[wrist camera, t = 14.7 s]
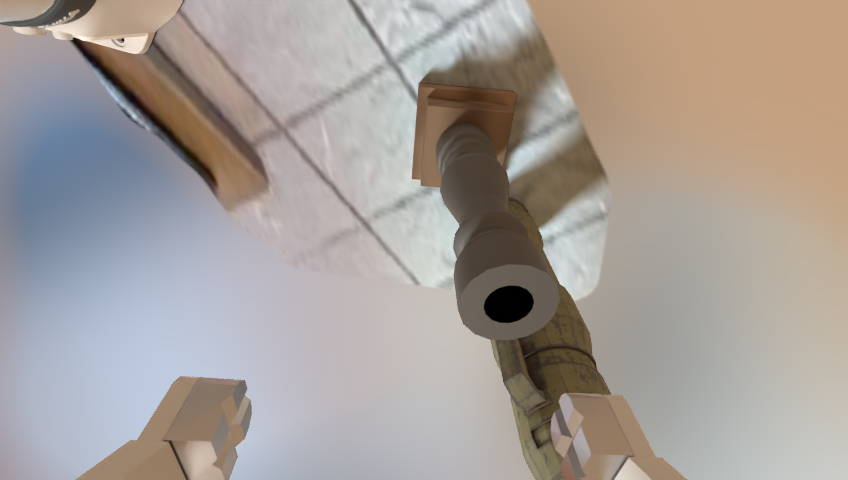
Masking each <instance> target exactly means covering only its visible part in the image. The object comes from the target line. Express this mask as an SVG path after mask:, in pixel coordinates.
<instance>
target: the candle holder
mask: <svg viewBox="0 0 848 480" xmlns="http://www.w3.org/2000/svg"><path fill="white" fill-rule="evenodd" d="M436 161H437V167H438V170H439V173H440V176H441V185H440V192H441V195H442V198H443V201H444V204H445V205H446V207H447V208H448V209H449V211H450V212H451V213H452V215H453V216H454V218H455V219H456V220H457V222H458V223H459V226H460V227H459V228H458V230H457V232H456V233H455V239H454V246H453V248H454V252H455V255H456V257H457V261H456V264H455V270H454V282H455V290H456V297H457V305H458V311H459V313H460V316H461V319H462V321H463V324H464V325H465V326H466V327H468V328H469V329H470V330H471V331H472V332H473V333H475V334H476V335H480V336H482V337H485V338H487V339H490V340H513V339H517V338H522V337H526V336H528V335H530V334H532V333H534V332H536V331H537V330H539V329H541V328H543V327H544V326H545V325H546V324H547V323H548V322H549V321H550V319H551V318H552V317H553V316H554V315H555V313H556V310H557V307H558V304H559V301H560V297H559V292H558V286H557V283H556V281H555V279H554V277H553V275H552V273H551V271H550V269H549V267H548V264H547V262H546V260H545V258H544V256H543V254H542V252H541V251H540V250H539V249H538V247H537V246H536V245H535V244H534V243H533V241H531V240H529V237H528V233H527V229H526V227H525V225H524V224H523V223H522V222H521V221H520V220H519V218H518V217H517V216H515V215H513V214H511V213H509V212H508V194H509V181H508V176H507V172H506V170H505V169H504V167H503V166H502V165H501V164H500V162H499V161H498V160H497V155H496V151H495V147H494V145H493V143H492V141H491V139H490V137H489V135H488V134H487V133H486V132H485V130H484V129H483V128H481V127H479V126H478V125H476V124H474V123H463V122H461V123H458V124H455V125H452V126H450V127H449V128H448V129H447V130H445V131H444V132H443V133H442V134H441V136H440V138H439V140H438V142H437V145H436Z"/></svg>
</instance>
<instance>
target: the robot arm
mask: <svg viewBox="0 0 848 480" xmlns="http://www.w3.org/2000/svg"><path fill="white" fill-rule="evenodd" d="M182 2H183V0H0V24H2V25H8V26H12V28H13V29H14V30H15V31H16V32H18V33H22V34H28V35H45V33H46V29H47V30H50V31H52V32H53V35H54V37H55V38H58V39H63V40H72V39H73V37H75V38H79V39H81V40H83V41H89V42H93V43H96V44H100V45H104V46H107V47H111V48H114V49H118V50H121V51H125V52H129V53H133V54H142V53H145V52H146V51H147V50H148V49H149V47H150V45H151V43H152V40H153V38H154V35H155V32H156V31H157V30H158V29H159V28H160V27H161V26H162V25H163V24H165V23H166V22H167V21H169V20H170V19H171V18H172V17H173V16H174V15H175V14H176V12H177V11H178V9H179V8H180V6H181V4H182ZM121 38H124V42H123V41H122V40H121ZM246 391H247V386H246V382H245V380H234V379H217V378H203V377H181V376H180V377H179V378H178V379H177V380H176V381H175V382H173V384H172V385H171V387H170V389H169V390H168V392H167V393H166V395H165V397H164V398H163V400H162V402H161V403H160V405H159V406H158V408H157V409H156V411H155V412H154V414H153V416H152V417H151V419H150V420H149V422H148V424H147V425H146V427H145V428H144V430H143V432H142V433H141V435H140V436H139V438H138V440H130V441H129V442H127V443H126V444H124V445H123V446H122V447H120V448H119V449H118V450H116V451H115V452H113V453H112V454H111V455H109V456H108V457H107V458H105V459H104V460H102V461H101V462H99V463H98V464H97V465H95V466H94V467H93V468H91V469H90V470H88V471H87V472H86V473H84V474H83V475H82V476H80V477H79V478H77V479H76V480H229V478H230V475H231V473H232V470H233V467H234V465H235V462H236V460H237V457H238V456H237V452H236V449H235V447H236V446H237V445H238V444H239V443H240V442H241V441H242V440H244V439H245V436H246V434H247V431H248V428H249V425H250V420H251V415H252V412H251V411H252V410H251V409H252V408H251V407H252V406H251V402H250V399H248V398H247V397H246V396H245V393H246ZM559 404H560V407H561V408H559V409H558V410H556V411H555V412H554V414H553V416H552V419H551V435H552V441H553V444H554V448H555V450H556V451H557V452H558V453H559V454H560V455H561V456H562V457H563V461H562V463H561V466H560V468H561V471H562V474H563V477H564V480H687V479H686V478H684V477H683V476H682V475H681V474H680V473H679V472H678V471H676V470H675V469H674V468H673V467H672V466H671V465H670V464H668V463H667V462H666V461H665V460H664V459H663V458H657V457H656V456H655V454H654V452H653V450H652V449H651V447H650V445H649V443H648V441H647V439H646V437H645V435H644V433H643V431H642V429H641V427H640V425H639V423H638V422H637V420H636V418H635V416H634V414H633V412H632V410H631V408H630V406H629V404H628V402H627V400H626V399H625V398H624V397H623V396H621V395H601V394H586V393H564V394H563V395H561V397H560V399H559Z"/></svg>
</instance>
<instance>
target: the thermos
mask: <svg viewBox="0 0 848 480" xmlns="http://www.w3.org/2000/svg"><path fill="white" fill-rule="evenodd" d="M508 212H509V213H511V214H513V215H515V216H517V217H518V218H519V220H520V221H521V222H522V223H523V224H524V225H525V227H526V229H527V233H528V237H529V240H531V241H533V243H534V244H535V245H536V246H537V247H538V249H539V250H540V251H541V252H542V254H543V256H544V258H545V260H546V262H547V264H548V267H549V269H550V271H551V273H552V275H553V277H554V279H555V281H556V283H557V286H558V292H559V297H560V301H559V304H558V307H557V310H556V313H555V315H554V316H553V317H552V318H551V319H550V321H549V322H548V323H547V324H546V325H545V326H544V327H543V328H541V329H539V330H537V331H536V332H534V333H532V334H530V335H528V336H526V337H522V338H517V339H513V340H491V344H492V349H493V354H494V358H495V360H496V363H497V365H498V367H499V369H500V370H501V372H502V377H503V382H504V384H505V386H506V388H507V390H508V391H509V393H510V395H511V403H512V407H513V411H514V416H515V420H516V424H517V429H518V433H519V438H520V442H521V447H522V451H523V455H524V458H525V460H526V462H527V464H528V467H529V469H530V470H531V472H532V474H533V476H534V478H535V479H536V480H564V477H563V474H562V471H561V468H560V466H561V463H562V461H563V457H562V456H561V455H560V454H559V453H558V452H557V451H556V450H555V448H554V444H553V441H552V435H551V419H552V416H553V414H554V412H555V411H556V410H558V409H559V408H561V407H560V404H559V399H560V397H561V395H563V394H564V393H586V394H601V395H611V393H610V391H609V389H608V387H607V385H606V383H605V381H604V379H603V377H602V376H601V375H600V373H599V372H598V371H597V368H596V362H595V360H594V358H593V356H592V345H591V338H590V333H589V331H588V329H587V327H586V325H585V323H584V321H583V319H582V317H581V315H580V313H579V311H578V309H577V307H576V305H575V303H574V301H573V299H572V297H571V295H570V294H569V293H568V291H567V290H566V289H565V287H563V286H561V285H560V284H559V282H558V280H557V277H556V275H555V273H554V271H553V269H552V267H551V265H550V263H549V261H548V259H547V257H546V255H545V253H544V251H543V240H542V236H541V234H540V232H539V230H538V228H537V226H536V224H535V222H534V220H533V219H532V217H531V216H530V215H529V213H528V211H527V210H526V208H525V207H524V205H523V204H521V203H520V202H518V201H517V200H515V199H512V198H508Z"/></svg>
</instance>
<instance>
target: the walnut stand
mask: <svg viewBox="0 0 848 480" xmlns="http://www.w3.org/2000/svg"><path fill="white" fill-rule="evenodd" d="M516 98H517V95H516V94H515V92H514V91H504V90H493V89H481V88H470V87H458V86H447V85H436V84H424V83H419V88H418V101H417V115H416V128H415V142H414V155H413V169H412V179H418V180H421V186H431V187H440V185H441V176H440V173H439V170H438V167H437V161H436V145H437V142H438V140H439V138H440V136H441V134H442V133H443V132H444V131H445V130H447V129H448V128H449V127H450V126H452V125H455V124H458V123H461V122H463V123H474V124H476V125H478V126H479V127H481V128H483V129H484V130H485V132H486V133H487V134H488V135H489V137H490V139H491V141H492V143H493V145H494V147H495V151H496V155H497V160H498V161H499V162H500V164H501V165H502V166H503V164H504V159H505V154H506V149H507V144H508V139H509V135H510V130H511V125H512V120H513V115H514V108H515V103H516Z"/></svg>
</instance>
